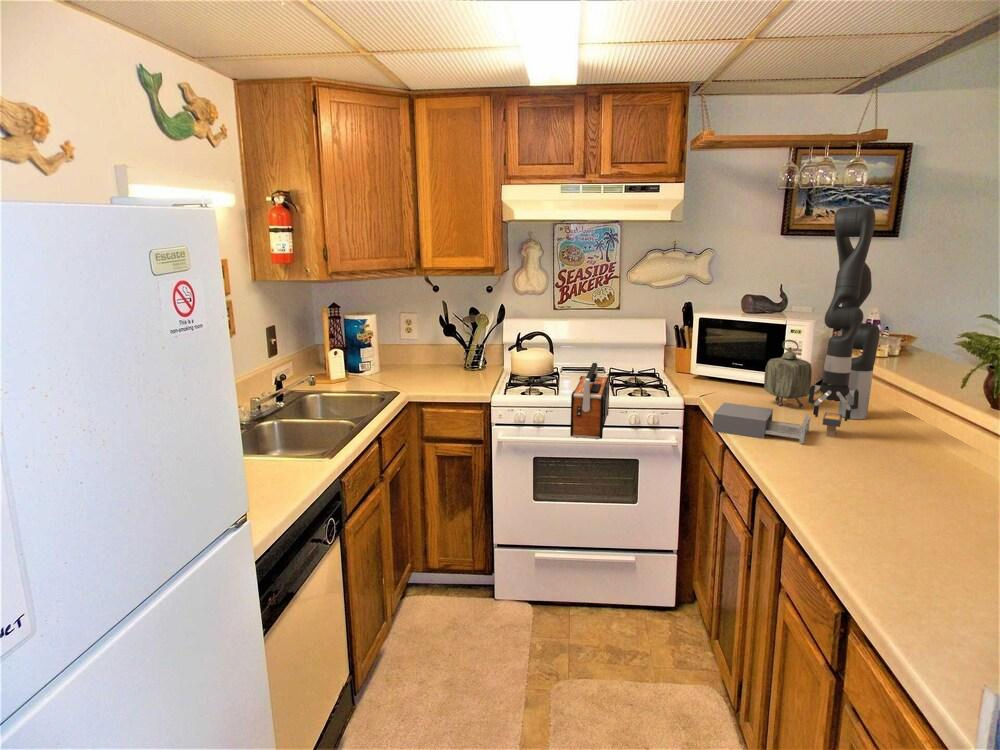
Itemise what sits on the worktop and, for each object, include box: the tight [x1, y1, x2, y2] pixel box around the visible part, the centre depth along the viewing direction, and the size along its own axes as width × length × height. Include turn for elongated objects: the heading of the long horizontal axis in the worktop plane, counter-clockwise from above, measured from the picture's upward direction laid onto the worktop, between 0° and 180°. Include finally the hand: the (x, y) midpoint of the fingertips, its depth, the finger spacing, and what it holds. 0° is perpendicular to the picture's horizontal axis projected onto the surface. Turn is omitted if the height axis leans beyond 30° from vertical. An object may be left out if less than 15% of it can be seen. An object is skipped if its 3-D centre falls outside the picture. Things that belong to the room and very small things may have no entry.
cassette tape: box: [822, 412, 843, 428], centre depth 208 cm, size 8×5×2 cm, turn 149°
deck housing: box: [711, 402, 774, 440], centre depth 215 cm, size 16×16×6 cm
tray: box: [765, 414, 811, 444], centre depth 209 cm, size 16×16×5 cm
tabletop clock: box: [763, 339, 813, 409], centre depth 241 cm, size 14×9×25 cm, turn 26°
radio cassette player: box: [569, 361, 611, 440], centre depth 214 cm, size 29×10×20 cm, turn 167°
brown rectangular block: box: [825, 425, 837, 438], centre depth 209 cm, size 6×2×4 cm, turn 149°
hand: (830, 418), depth 208 cm, fingers open, 8 cm apart
